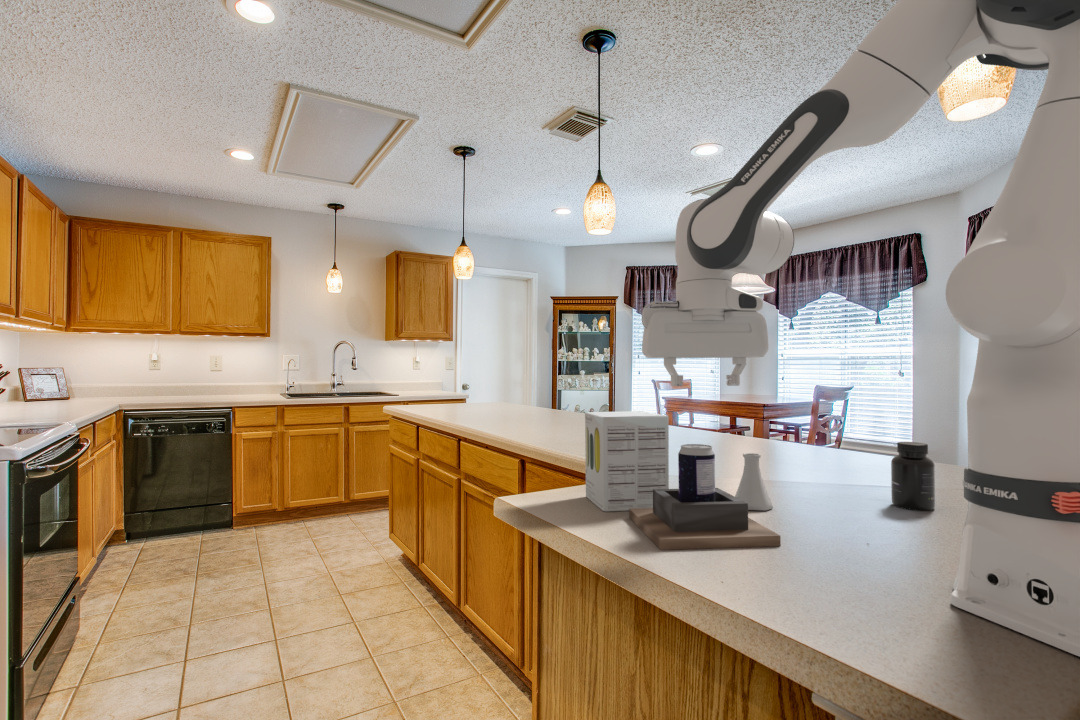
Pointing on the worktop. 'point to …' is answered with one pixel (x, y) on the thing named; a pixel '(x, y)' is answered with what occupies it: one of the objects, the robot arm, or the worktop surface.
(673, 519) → the square holder on base
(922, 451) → the supplement bottle
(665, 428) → the supplement box
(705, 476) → the beverage can
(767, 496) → the flask
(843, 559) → the worktop surface
